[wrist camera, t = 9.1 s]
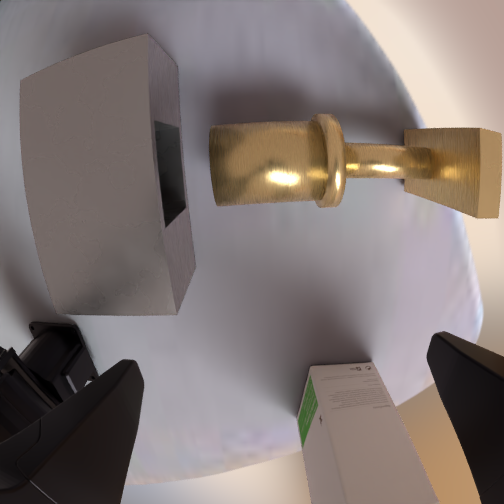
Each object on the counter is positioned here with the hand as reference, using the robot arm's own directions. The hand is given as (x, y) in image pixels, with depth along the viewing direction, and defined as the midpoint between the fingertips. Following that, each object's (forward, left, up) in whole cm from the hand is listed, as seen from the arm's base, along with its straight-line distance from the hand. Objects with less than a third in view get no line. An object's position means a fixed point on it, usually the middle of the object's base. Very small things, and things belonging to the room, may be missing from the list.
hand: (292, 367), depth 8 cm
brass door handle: (+5, +5, -13) cm, 14 cm away
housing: (-9, +5, -13) cm, 17 cm away
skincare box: (+6, -16, -13) cm, 22 cm away
